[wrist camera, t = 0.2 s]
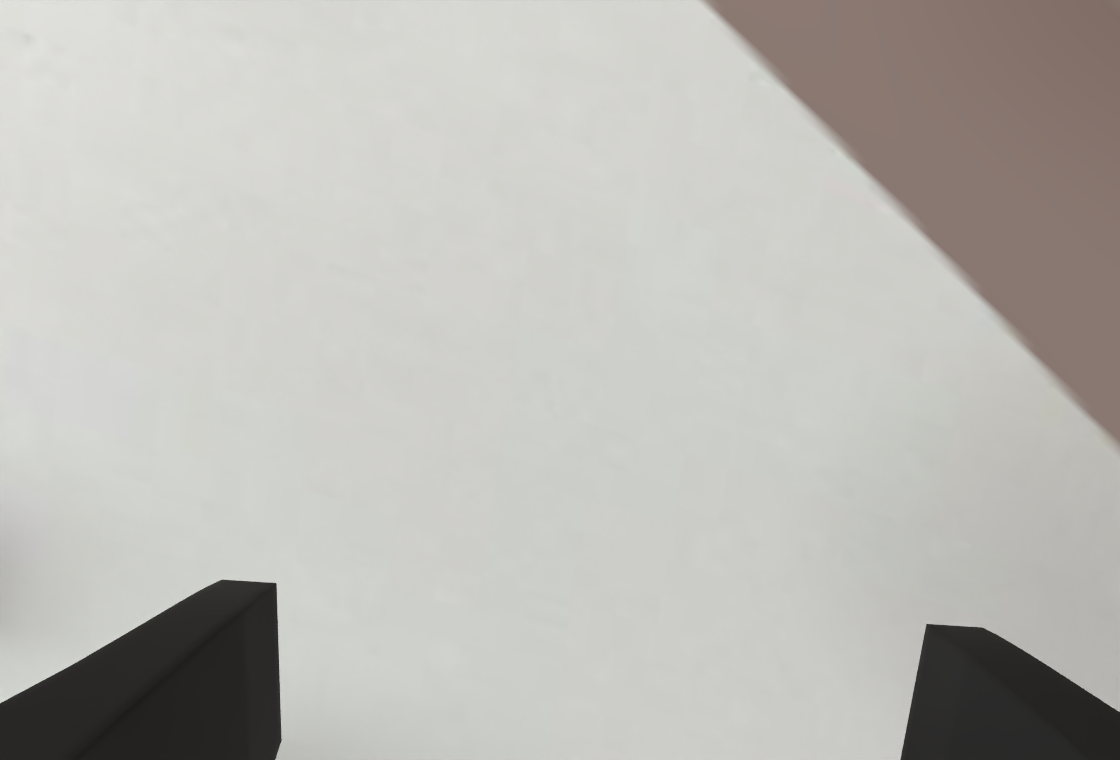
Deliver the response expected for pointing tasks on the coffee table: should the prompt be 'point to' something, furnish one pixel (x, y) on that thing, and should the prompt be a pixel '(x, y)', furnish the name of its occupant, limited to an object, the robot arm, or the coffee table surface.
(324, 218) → the coffee table surface
